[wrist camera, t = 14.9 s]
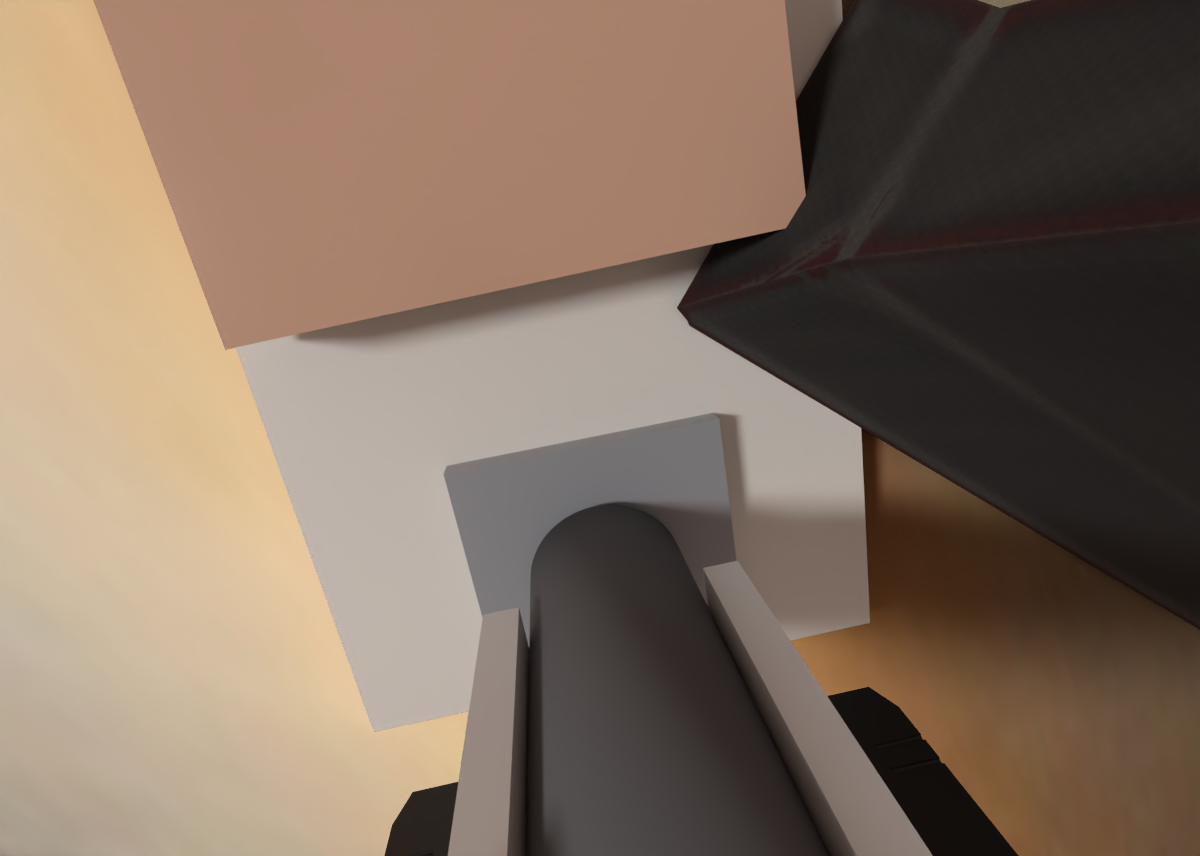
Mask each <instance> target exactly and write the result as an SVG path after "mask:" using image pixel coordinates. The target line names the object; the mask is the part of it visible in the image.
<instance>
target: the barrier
mask: <svg viewBox="0 0 1200 856" xmlns="http://www.w3.org/2000/svg"><path fill="white" fill-rule="evenodd" d="M796 110H797V120H798V129H799V138H800V147H801V156H802V166H803V175H804V184H805V193H806V196H805V198H804V200H803V201H802V203H801V204H800V206H799V208H798V209H797V211H796V213H795V214H794V216H793V218H792V219H791V221H790V222H789V224H788V226H787V227H786V228H785V229H781V230H776V231H771V232H767V233H762V234H758V235H753V236H748V237H744V238H739V239H734V240H730V241H725V242H721V243H716V244H713V246H712V248H711V249H710V251H709V253H708V255H707V256H706V258H705V260H704V262H703V263H702V265H701V267H700V268H699V270H698V272H697V274H696V275H695V277H694V279H693V281H692V282H691V284H690V286H689V288H688V289H687V291H686V293H685V294H684V296H683V298H682V300H681V301H680V303H679V305H678V307H677V309H678V310H679V311H680V313H681V314H682V315H683V316H684V317H685V319H686V320H687V321H688V324H689V326H691V327H692V328H694V329H696V330H697V331H699V332H701V333H702V334H704V335H706V336H707V337H709V338H711V339H712V340H714V341H716V342H717V343H719V344H721V345H723V346H724V347H726V348H728V349H729V350H731V351H733V352H734V353H736V354H738V355H739V356H741V357H743V358H744V359H746V360H748V361H749V362H751V363H753V364H754V365H756V366H758V367H760V368H761V369H763V370H765V371H766V372H768V373H770V374H771V375H773V376H775V377H776V378H778V379H780V380H781V381H783V382H785V383H786V384H788V385H790V386H791V387H793V388H795V389H797V390H798V391H800V392H802V393H803V394H805V395H807V396H808V397H810V398H812V399H813V400H815V401H817V402H818V403H820V404H822V405H823V406H825V407H827V408H828V409H830V410H832V411H834V412H835V413H837V414H839V415H840V416H842V417H844V418H845V419H847V420H849V421H850V422H852V423H854V424H855V425H857V426H859V427H860V428H862V429H864V430H866V431H867V432H869V433H871V434H872V435H874V436H876V437H877V438H879V439H881V440H882V441H884V442H886V443H887V444H889V445H891V446H892V447H894V448H896V449H897V450H899V451H901V452H903V453H904V454H906V455H908V456H909V457H911V458H913V459H914V460H916V461H918V462H919V463H921V464H923V465H924V466H926V467H928V468H929V469H931V470H933V471H934V472H936V473H938V474H940V475H941V476H943V477H945V478H946V479H948V480H950V481H951V482H953V483H955V484H956V485H958V486H960V487H961V488H963V489H965V490H966V491H968V492H970V493H971V494H973V495H975V496H977V497H978V498H980V499H982V500H983V501H985V502H987V503H988V504H990V505H992V506H993V507H995V508H997V509H998V510H1000V511H1002V512H1003V513H1005V514H1007V515H1008V516H1010V517H1012V518H1014V519H1015V520H1017V521H1019V522H1020V523H1022V524H1024V525H1025V526H1027V527H1029V528H1030V529H1032V530H1034V531H1035V532H1037V533H1039V534H1040V535H1042V536H1044V537H1046V538H1047V539H1049V540H1051V541H1052V542H1054V543H1056V544H1057V545H1059V546H1061V547H1062V548H1064V549H1066V550H1067V551H1069V552H1071V553H1072V554H1074V555H1076V556H1077V557H1079V558H1081V559H1083V560H1084V561H1086V562H1088V563H1089V564H1091V565H1093V566H1094V567H1096V568H1098V569H1099V570H1101V571H1103V572H1104V573H1106V574H1108V575H1109V576H1111V577H1113V578H1114V579H1116V580H1118V581H1120V582H1121V583H1123V584H1125V585H1126V586H1128V587H1130V588H1131V589H1133V590H1135V591H1136V592H1138V593H1140V594H1141V595H1143V596H1145V597H1146V598H1148V599H1150V600H1151V601H1153V602H1155V603H1157V604H1158V605H1160V606H1162V607H1163V608H1165V609H1167V610H1168V611H1170V612H1172V613H1173V614H1175V615H1177V616H1178V617H1180V618H1182V619H1183V620H1185V621H1187V622H1189V623H1190V624H1192V625H1194V626H1195V627H1197V628H1199V629H1200V0H1031V1H1027V2H1023V3H1019V4H1015V5H1011V6H1007V7H1003V8H998V7H995V6H992V5H990V4H987V3H984V2H981V1H978V0H854V1H853V3H852V5H851V7H850V8H849V10H848V12H847V14H846V15H845V17H844V19H843V20H842V22H841V24H840V26H839V27H838V29H837V31H836V33H835V34H834V36H833V38H832V40H831V41H830V43H829V45H828V46H827V48H826V50H825V52H824V53H823V55H822V57H821V59H820V60H819V62H818V64H817V66H816V67H815V69H814V71H813V72H812V74H811V76H810V78H809V79H808V81H807V83H806V85H805V86H804V88H803V90H802V92H801V93H800V95H799V97H798V98H797V100H796Z"/></svg>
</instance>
